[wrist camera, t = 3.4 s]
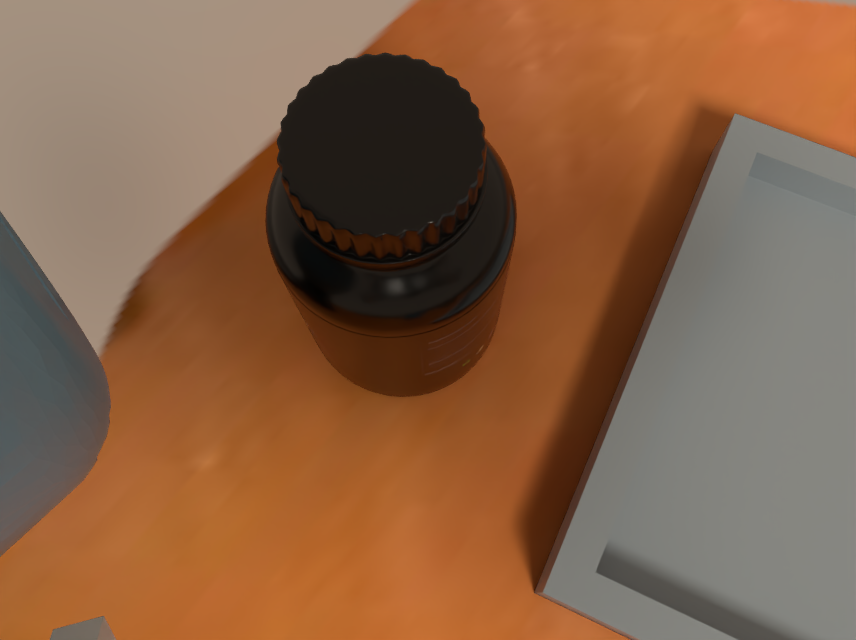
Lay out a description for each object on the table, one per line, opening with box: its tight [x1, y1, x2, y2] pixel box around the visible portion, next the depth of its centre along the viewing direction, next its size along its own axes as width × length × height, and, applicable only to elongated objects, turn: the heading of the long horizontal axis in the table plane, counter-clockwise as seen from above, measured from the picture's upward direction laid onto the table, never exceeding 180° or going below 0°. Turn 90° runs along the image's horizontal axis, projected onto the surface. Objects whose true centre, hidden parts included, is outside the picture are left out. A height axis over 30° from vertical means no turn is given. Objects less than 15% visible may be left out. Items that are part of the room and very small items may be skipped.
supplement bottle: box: [266, 53, 517, 397], centre depth 24 cm, size 7×7×12 cm
